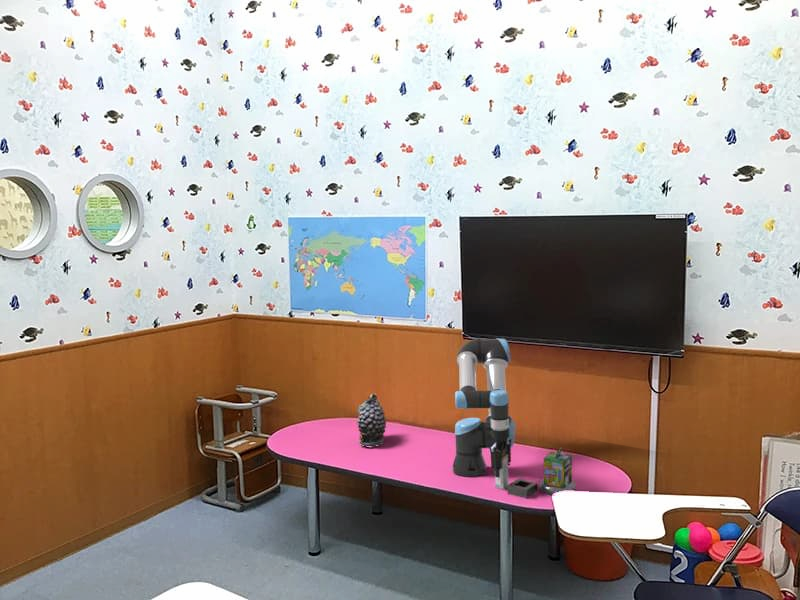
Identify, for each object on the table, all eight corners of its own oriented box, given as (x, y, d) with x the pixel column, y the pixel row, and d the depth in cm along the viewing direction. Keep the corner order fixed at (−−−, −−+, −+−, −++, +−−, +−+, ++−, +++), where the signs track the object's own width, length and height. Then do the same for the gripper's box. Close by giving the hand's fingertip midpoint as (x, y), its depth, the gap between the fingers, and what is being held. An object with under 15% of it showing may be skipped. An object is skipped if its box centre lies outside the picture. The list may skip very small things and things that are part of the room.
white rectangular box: (494, 487, 291) (493, 455, 289) (500, 484, 294) (499, 452, 292) (503, 489, 288) (502, 457, 286) (509, 486, 291) (508, 454, 290)
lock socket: (507, 493, 284) (507, 485, 284) (519, 486, 291) (518, 478, 290) (526, 498, 278) (526, 490, 278) (537, 491, 285) (537, 482, 285)
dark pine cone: (359, 437, 367) (357, 390, 364) (388, 436, 367) (385, 389, 364) (355, 450, 347) (353, 401, 344) (385, 449, 346) (383, 400, 343)
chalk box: (551, 477, 292) (551, 443, 291) (572, 481, 287) (572, 446, 285) (543, 484, 285) (542, 450, 283) (564, 489, 280) (563, 453, 278)
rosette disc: (534, 490, 286) (534, 484, 285) (550, 480, 296) (550, 474, 296) (565, 498, 276) (565, 492, 276) (581, 487, 287) (581, 481, 287)
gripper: (496, 435, 279) (498, 490, 282) (518, 424, 292) (520, 477, 295) (481, 432, 284) (482, 486, 287) (503, 421, 297) (505, 474, 300)
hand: (501, 482), depth 291 cm, fingers closed on white rectangular box, 4 cm apart
